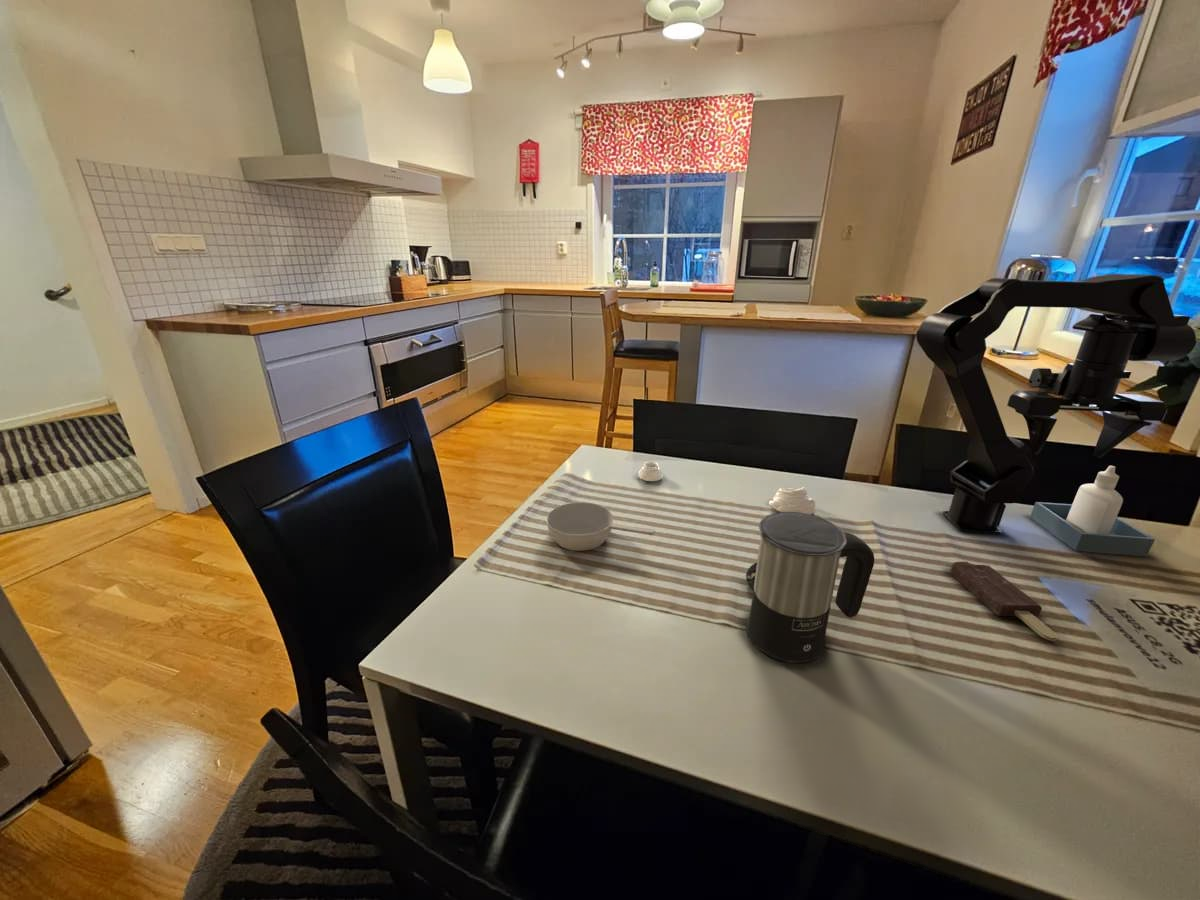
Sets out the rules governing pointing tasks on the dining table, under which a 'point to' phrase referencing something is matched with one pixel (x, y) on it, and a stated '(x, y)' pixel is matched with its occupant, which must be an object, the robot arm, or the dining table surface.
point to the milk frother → (802, 583)
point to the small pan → (584, 526)
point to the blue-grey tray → (1117, 542)
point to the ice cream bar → (1000, 595)
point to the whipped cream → (793, 501)
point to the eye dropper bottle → (1096, 504)
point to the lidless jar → (650, 472)
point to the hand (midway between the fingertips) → (1065, 455)
